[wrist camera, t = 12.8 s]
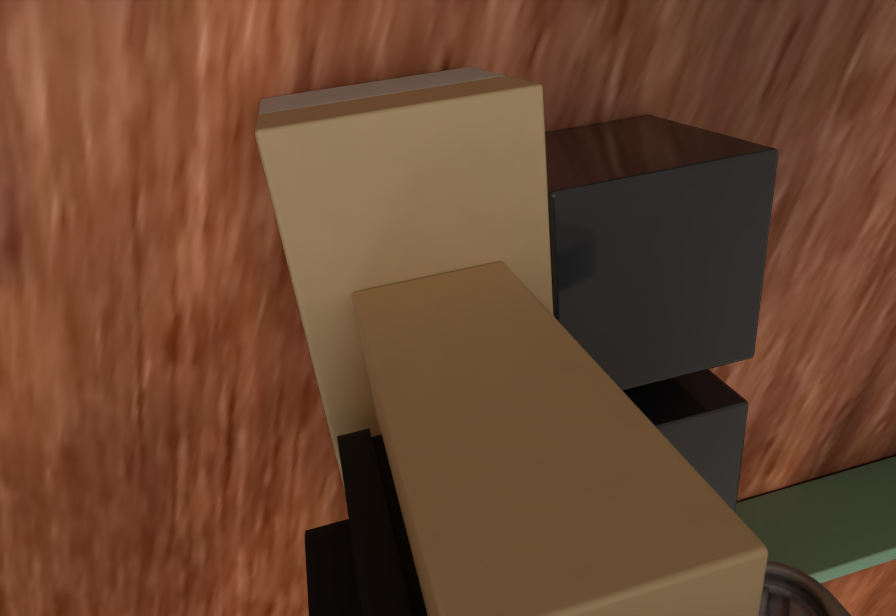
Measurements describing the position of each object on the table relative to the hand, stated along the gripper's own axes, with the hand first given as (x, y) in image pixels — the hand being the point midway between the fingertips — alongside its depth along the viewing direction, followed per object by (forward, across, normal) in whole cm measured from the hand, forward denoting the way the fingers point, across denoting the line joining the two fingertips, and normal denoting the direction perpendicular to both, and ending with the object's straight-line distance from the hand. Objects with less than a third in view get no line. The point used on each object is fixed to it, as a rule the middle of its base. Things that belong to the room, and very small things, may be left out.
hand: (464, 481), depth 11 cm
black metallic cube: (+5, -4, -2) cm, 7 cm away
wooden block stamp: (+4, 0, 0) cm, 4 cm away
